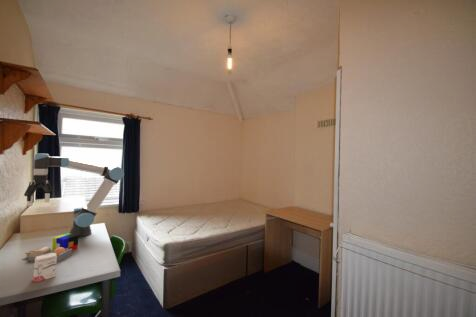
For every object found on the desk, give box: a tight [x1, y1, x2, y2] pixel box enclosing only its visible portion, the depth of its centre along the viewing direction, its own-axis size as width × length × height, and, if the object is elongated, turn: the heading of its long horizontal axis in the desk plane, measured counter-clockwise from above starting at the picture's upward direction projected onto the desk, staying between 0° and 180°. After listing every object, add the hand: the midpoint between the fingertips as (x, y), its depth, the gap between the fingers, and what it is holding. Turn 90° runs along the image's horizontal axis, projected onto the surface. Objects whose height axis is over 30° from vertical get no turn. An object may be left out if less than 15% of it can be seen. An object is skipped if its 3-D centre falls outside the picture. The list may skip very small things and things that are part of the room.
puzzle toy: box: [51, 232, 79, 252], centre depth 145 cm, size 10×10×10 cm
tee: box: [24, 250, 36, 259], centre depth 134 cm, size 4×4×3 cm
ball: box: [53, 247, 65, 256], centre depth 134 cm, size 6×6×6 cm
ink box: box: [32, 253, 58, 283], centre depth 111 cm, size 9×5×12 cm, turn 139°
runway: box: [27, 246, 73, 263], centre depth 134 cm, size 10×20×6 cm, turn 91°
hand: (38, 203), depth 149 cm, fingers open, 13 cm apart
